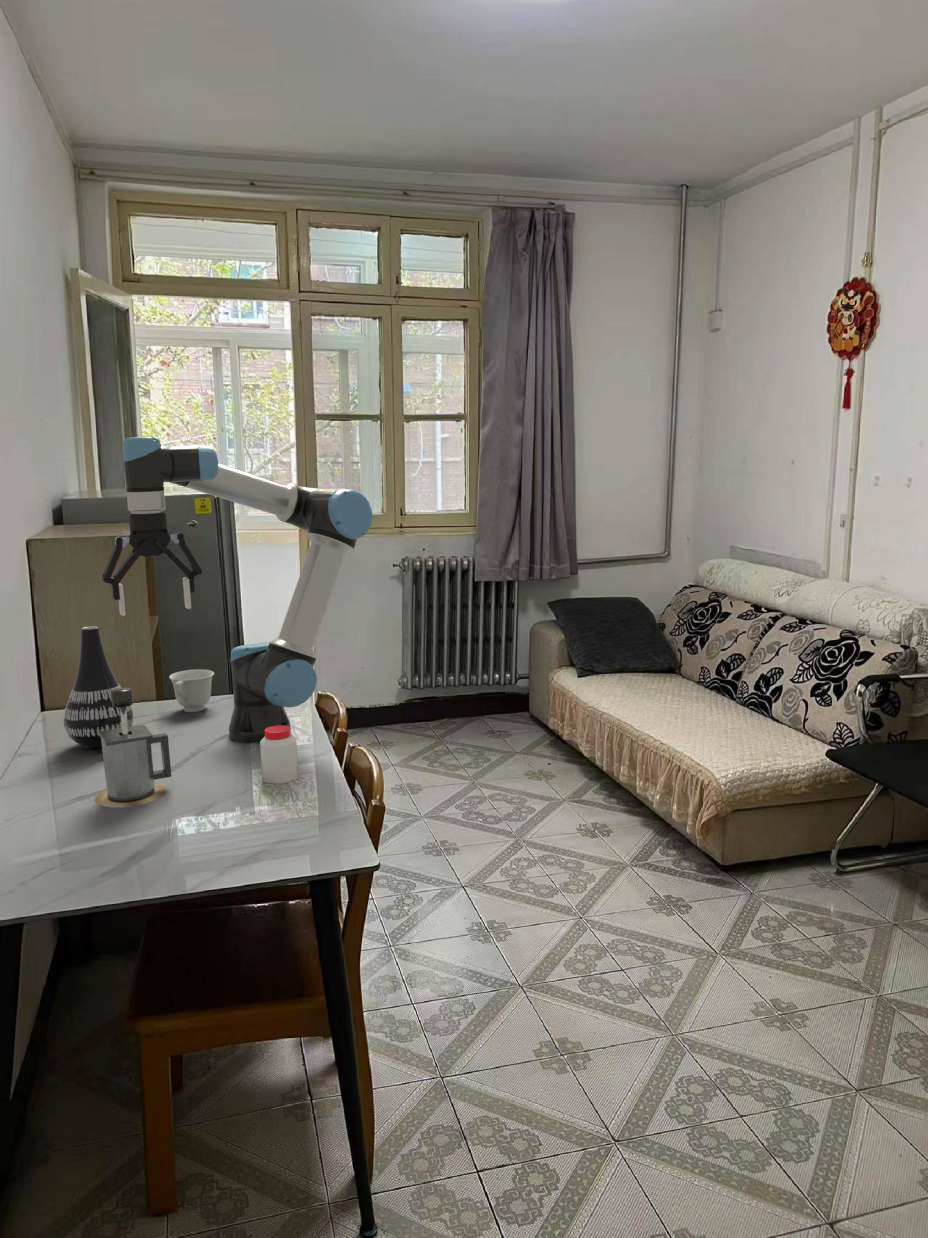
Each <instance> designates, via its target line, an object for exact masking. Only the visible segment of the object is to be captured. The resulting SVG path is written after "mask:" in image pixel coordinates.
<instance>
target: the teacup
mask: <svg viewBox="0 0 928 1238" xmlns="http://www.w3.org/2000/svg"><path fill="white" fill-rule="evenodd" d="M214 675H215V672H214V671H213V670H210V669H205V668H204V669H199V668H198V669H195V668H194V669H186V670H180V671H177V672H174V673H171V674H170V675H169V677H168V678H169V679H170V680H171V683H172V686H173V690H174V696H175V699H176V702H177V703H178V705H180V706H182V707H183V712H186V713H196V712H197V713H198V712H201V711H204V710H205V709H206V706H205V705H206V704H207V703H208V702H209V701H210V700H211V697H212V696H211V695H212V679H213V676H214ZM203 709H204V710H203Z"/></svg>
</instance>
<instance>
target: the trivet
mask: <svg viewBox="0 0 928 1238" xmlns="http://www.w3.org/2000/svg"><path fill="white" fill-rule="evenodd" d="M154 784H155V787H154V789H155V792H154V794H153V795H151V796H150V797H148V798H146V799H143V800H139V801H135V802H127V803H117V802H112V801H110V800H108V797H107V790H106V789H105V790H104V791H101V792H100V793H98V794H97V795H96V796H95V799H94V802H95V803H96V804H97V805H99V806H101V807H106V808H130V807H135V806H142V805H145V804H148V803H151V802H154V801H156V800H158V799H159V800H160V799H161V798H162V797H164V795H165V794H166V793H167V791H168V789H167V787H166V786H165V785H164V784H160V783H157V782H154Z"/></svg>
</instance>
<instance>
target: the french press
mask: <svg viewBox="0 0 928 1238" xmlns="http://www.w3.org/2000/svg"><path fill="white" fill-rule="evenodd" d="M128 732H129V735H122V728H119V729H113V730H107V731H100V732H99V735H100V737H101V741H102V749H101V751H102V759H103V768H104V769H103V770H104V778H105V786H106V787H105V788H106V789H105V790H107V797H108V800H110V801H112V802H117V803H127V802H135V801H139V800H143V799H146V798H148V797H150V796H151V795H153V794H154V792H155V789H154V787H155V784H154V783H155V780H161V779H165V778H171V777H172V769H171V756H170V745H169V735H168V734H167V733H166V732H164V733H157V734H152V732H151V731H150V730H149V729H148V727H147V726H146V725H145V724H139V725H132V726H131V727H128ZM157 743H160V750H161V752H160V753H161V762H162V769H159V770H154V764H153V755H152V754H153V752H152V744H157Z"/></svg>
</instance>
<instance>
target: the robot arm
mask: <svg viewBox="0 0 928 1238" xmlns="http://www.w3.org/2000/svg"><path fill="white" fill-rule="evenodd" d="M122 462H123V469H124V470H123V471H124V478H125V487H126V488H125V490H126V500H127V510H128V511H129V512H131V513H129V514H128V523H129V537H120V536H116V537H114V546H113V550H112V553H111V554H110V557H109V560H108V562H107V564H106V567H105V568H104V571H103V574H102V576H101V581H102V582H104V583H106V584H107V583H108V584H110V586H111V591H112V599H113V600H115V601H118V608H119V615H121V616H122V617H124V616H127V615H126V614H127V613H126V606H125V605H126V603H125V594H124V593H125V591H124V585H123V584H122V583H120V582H121V581H122V580H123V578H124V577H125V576H126V574H127V573H128V571H129V570H130V569H131V567H132V566H133V565H134V564H135V563H136V561H137V560H138V559H139V557H140V556H142V557H144V558H145V557H146V558H148V557H151V556H155V557H158V556H159V557H160V556H161V555H162V554H163V555H164V556H165V557H166V558H167V559H168V560H169V561H171V563H173V564H174V566H175V567H176V568H178V570H179V571H180V572H182V573H183V575H185V577H182V586H183V601H184V608H186V609H187V610H190V609H192V599H191V598H192V597H191V593H194V592H195V591H196V590H195V577H197V576H198V575H202V574H203V570H202V568H201V567H200V565H199V563H198V562H197V561H196V559H195V557H194V555H193V554H192V552H191V550H190V548H189V547H188V545H187V544H186V541H185V540H186V539H185V536H184V534H183V533H181V532H176V533H174V534H173V533H172V534H169V531H168V530H169V529H168V521H167V513H166V512H165V511H164V510H166V508H167V507H166V498H165V486H164V485H165V484H164V483H170V484H173V485H176V486H180V487H184V488H187V489H191V490H194V491H198V492H201V493H204V494H206V495H210V496H213V497H217V498H219V499H222V500H227V501H229V502H232V503H235V504H239V505H242V506H244V507H245V506H246V507H249V508H252V509H255V510H258V511H261V512H265V513H267V514H271V515H274V516H276V518H277V520H279V521H281V522H282V523H286V524H290V525H292V526H294V527H297V528H299V529H302V530H304V531H307V537H308V539H309V541H310V545H309V548H308V551H307V554H306V556H305V560H304V563H303V565H302V568H301V572H300V575H299V578H298V580H297V583H296V586H295V589H294V591H293V594H292V597H291V599H290V602H289V605H288V609H287V611H286V614H285V617H284V620H283V623H282V625H281V628H280V632H279V633H278V636H277V637H276V638H275V639H273V640H271V641H269V642H257V643H249V644H245V645H239V646H236V647H234V648H232V649H231V651H230V662H229V663H230V666H231V667H230V669H231V680H232V692H233V705H234V706H233V711H232V713H231V714H232V715H231V718H230V722H229V726H228V737H229V738H230V739H231V740H232V741H235V742H239V743H249V744H250V743H251V744H253V743H260V741H261V740H262V739H263V738H264V737H265V731H264V730H265V729H266V728H268V727H271V726H277V725H284V726H289V727H290V732H291V733H292V730H291V727H292V726H291V722H290V718H289V716H288V714H287V712H286V709H285V708H295V707H298V706H300V705H303V704H305V702H307V701H308V700H309V699H310V698H311V697H312V695H314V692H315V690H316V687H317V684H318V676H317V674H316V669H315V668H314V666H315V663H316V660H317V655H316V654H315V651H314V646H315V644H316V641H317V639H318V635H319V632H320V629H321V625H322V624H323V620H324V618H325V614H326V611H327V609H328V605H329V603H330V599H331V596H332V594H333V591H334V588H335V585H336V582H337V579H338V576H339V574H340V571H341V568H342V565H343V562H344V559H345V557H346V555H347V554H351V552H353V551H354V550H355V546H356V543H357V541H358V539H360V538H362V537H364V536H365V535H366V534H367V533H368V532H369V531H370V529H371V527H372V524H373V516H374V515H373V510H372V507H371V505H370V502H369V500H368V499H367V498H366V496H365V495H364V494H362V493H361V492H359V491H357V490H354V489H350V488H347V487H340V488H329V487H328V488H327V487H326V488H325V487H307V486H306V487H305V486H300V485H296V484H295V483H294V484H293V483H286V485H284V484H280V483H278V482H274V481H271V480H268V479H266V478H263V477H259V476H257V475H253V474H250V473H247V472H244V471H241V470H238V469H235V468H232V467H229V466H227V465H224V464H220V463H219V458H218V454H217V452H216V450H215V449H214V448H213V447H212V446H210V445H200V444H198V445H177V446H176V445H174V446H166V445H165V446H164V445H162V444H161V440H160V438H159V437H157V436H139V437H137V436H135V437H126V438H124V440H123V442H122ZM171 541H172V542H173V543H174V544H176V545H177V546H178V548H179V550H180V552H181V553H182V555H183V556H184V558H185V560H186V561H187V563H188V564H189V566H190V568H191V570H190V569H189V568H188V567H187V566H186V565H185V564H184V563H183V562H182V561H181V560H180V559H179V558H178V557H177V556H176V555H175V554H174V553H173V552H172V551H171V550H170V548H168V546H169V544H170V542H171ZM128 544H129V545H130V546H131V547H132V548H133V549H132V551H131V552H130V553H129V555H128V556H127V558H126V559H125V560H124V562H122V564H121V566H120V567H119V568H118V570H117V571H116V572H115V574H114V571H115V569H116V566H117V563H118V561H119V558H120V557H121V553H122V552H123V548H125V547H127V545H128ZM113 574H114V575H113ZM112 575H113V576H112Z"/></svg>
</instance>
